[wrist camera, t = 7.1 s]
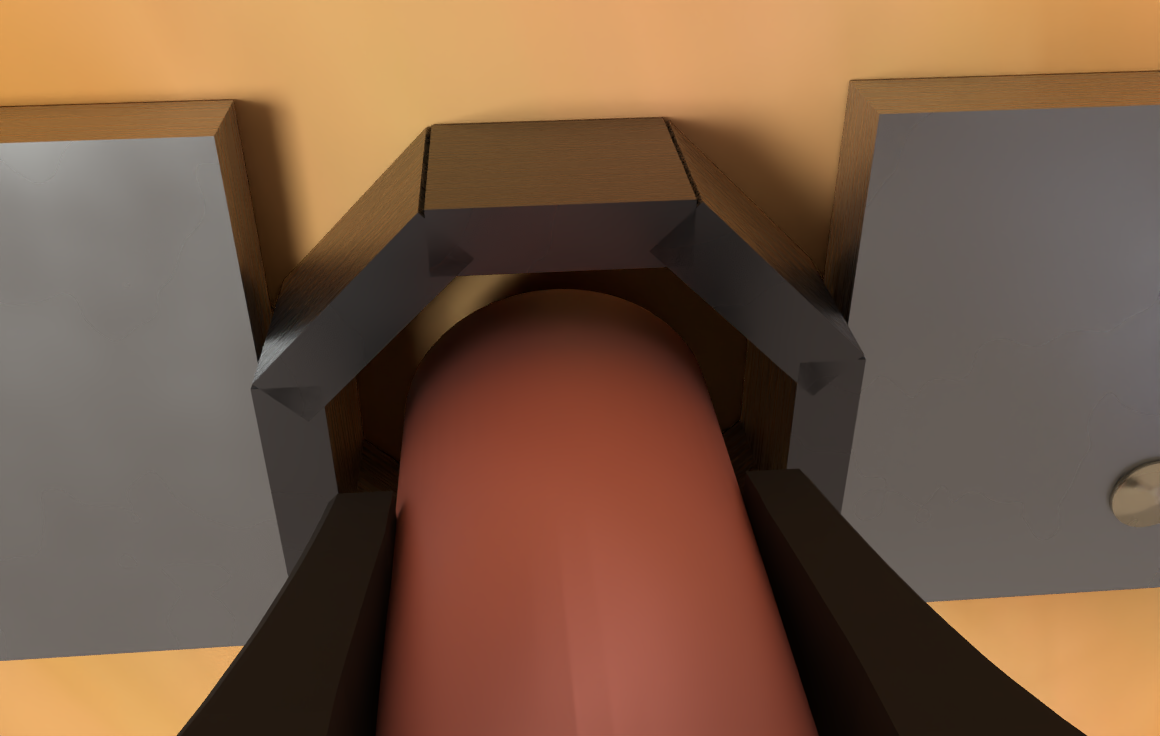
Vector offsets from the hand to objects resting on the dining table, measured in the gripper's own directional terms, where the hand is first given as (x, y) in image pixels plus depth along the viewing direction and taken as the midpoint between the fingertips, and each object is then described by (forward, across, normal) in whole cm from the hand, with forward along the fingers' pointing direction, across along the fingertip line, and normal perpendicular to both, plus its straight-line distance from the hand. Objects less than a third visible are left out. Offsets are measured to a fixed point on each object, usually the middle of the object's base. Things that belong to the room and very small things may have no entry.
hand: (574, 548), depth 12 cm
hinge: (+4, 0, 0) cm, 4 cm away
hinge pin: (+2, 0, 0) cm, 2 cm away
